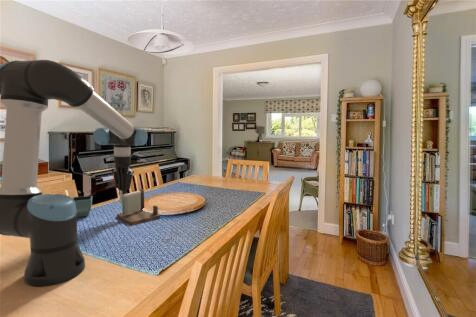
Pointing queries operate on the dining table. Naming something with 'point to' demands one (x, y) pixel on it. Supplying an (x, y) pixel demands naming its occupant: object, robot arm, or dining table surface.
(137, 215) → the board
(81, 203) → the flower pot
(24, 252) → the dining table surface
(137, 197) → the gate
